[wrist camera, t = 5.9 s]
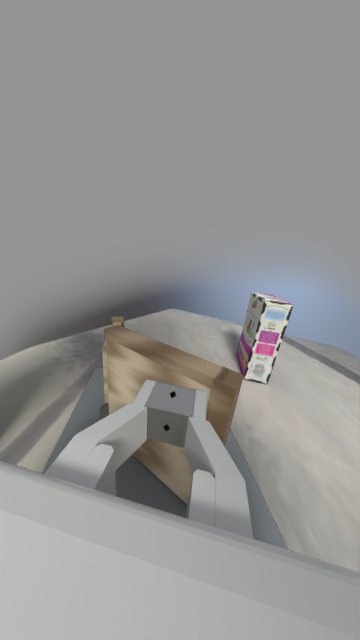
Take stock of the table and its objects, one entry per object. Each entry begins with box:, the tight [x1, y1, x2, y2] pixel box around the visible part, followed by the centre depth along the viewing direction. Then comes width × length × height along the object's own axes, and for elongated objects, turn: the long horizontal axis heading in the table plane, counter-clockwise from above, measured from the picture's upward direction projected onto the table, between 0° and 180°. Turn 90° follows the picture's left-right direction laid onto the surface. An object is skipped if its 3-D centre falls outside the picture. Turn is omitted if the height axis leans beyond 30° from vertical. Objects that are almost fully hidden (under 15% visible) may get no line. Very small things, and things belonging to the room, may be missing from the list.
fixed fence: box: [100, 316, 124, 420], centre depth 25 cm, size 13×2×11 cm, turn 12°
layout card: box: [43, 367, 288, 550], centre depth 23 cm, size 25×21×1 cm
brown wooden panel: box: [104, 325, 244, 505], centre depth 16 cm, size 12×2×14 cm, turn 57°
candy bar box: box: [237, 293, 293, 384], centre depth 37 cm, size 11×5×16 cm, turn 170°
